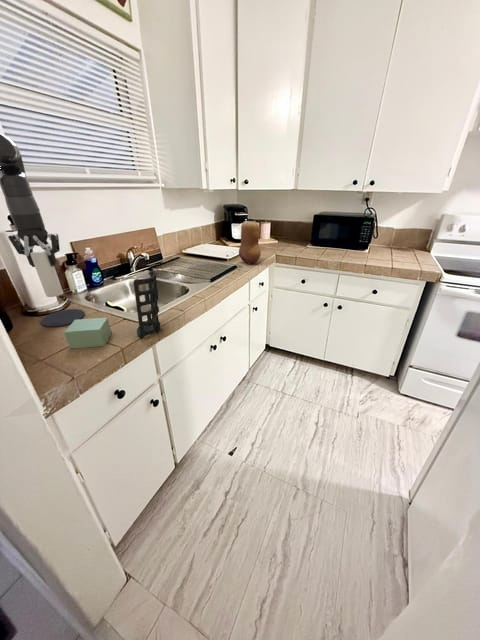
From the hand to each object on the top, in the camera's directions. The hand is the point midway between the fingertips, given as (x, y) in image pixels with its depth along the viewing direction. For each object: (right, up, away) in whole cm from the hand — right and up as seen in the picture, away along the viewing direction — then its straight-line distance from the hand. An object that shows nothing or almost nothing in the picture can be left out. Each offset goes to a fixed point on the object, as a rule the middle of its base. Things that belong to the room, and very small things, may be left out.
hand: (44, 265), depth 88 cm
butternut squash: (+72, +17, +76) cm, 107 cm away
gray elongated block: (-1, -5, +8) cm, 9 cm away
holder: (+36, -22, +2) cm, 42 cm away
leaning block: (+19, -25, -4) cm, 32 cm away
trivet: (0, -18, +9) cm, 20 cm away
